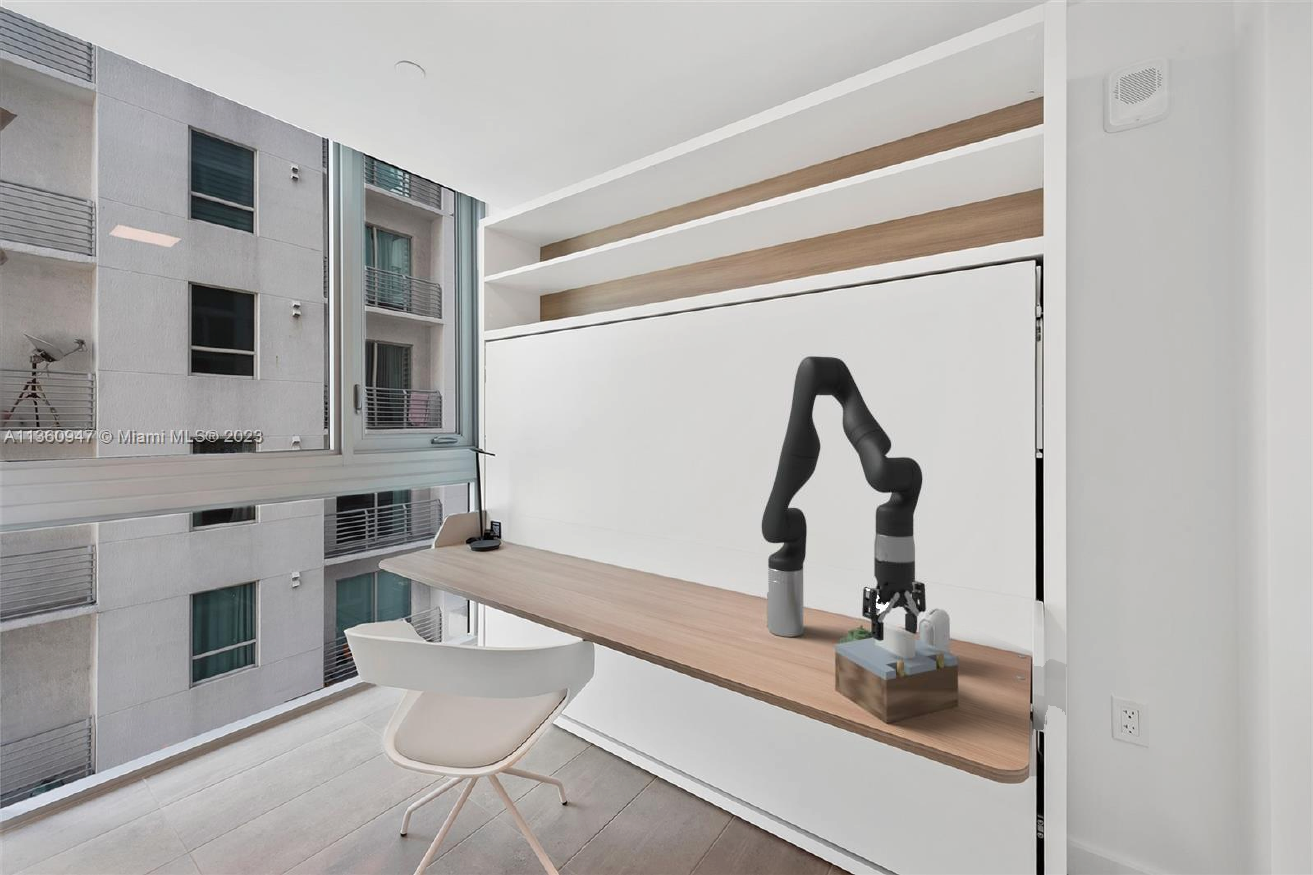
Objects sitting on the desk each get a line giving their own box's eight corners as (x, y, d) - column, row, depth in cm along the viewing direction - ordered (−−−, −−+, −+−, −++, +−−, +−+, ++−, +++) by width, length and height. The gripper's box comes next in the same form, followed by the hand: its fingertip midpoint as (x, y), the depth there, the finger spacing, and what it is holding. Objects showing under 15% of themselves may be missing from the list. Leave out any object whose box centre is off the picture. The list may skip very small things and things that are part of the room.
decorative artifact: (871, 645, 135) (833, 646, 134) (871, 617, 135) (833, 618, 134) (891, 662, 125) (850, 663, 124) (891, 632, 125) (850, 633, 124)
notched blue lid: (835, 651, 111) (835, 622, 111) (901, 639, 118) (901, 612, 118) (886, 680, 98) (885, 647, 98) (957, 664, 105) (957, 634, 105)
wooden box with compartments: (835, 690, 111) (835, 639, 111) (901, 675, 118) (901, 627, 118) (886, 723, 98) (886, 666, 98) (958, 705, 105) (957, 652, 104)
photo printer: (936, 673, 119) (936, 617, 119) (916, 667, 122) (916, 613, 122) (952, 659, 126) (952, 607, 126) (933, 654, 129) (932, 603, 129)
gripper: (906, 549, 114) (906, 625, 114) (853, 555, 109) (853, 634, 109) (936, 557, 107) (936, 638, 107) (880, 563, 102) (881, 648, 102)
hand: (894, 636), depth 108 cm, fingers open, 8 cm apart
